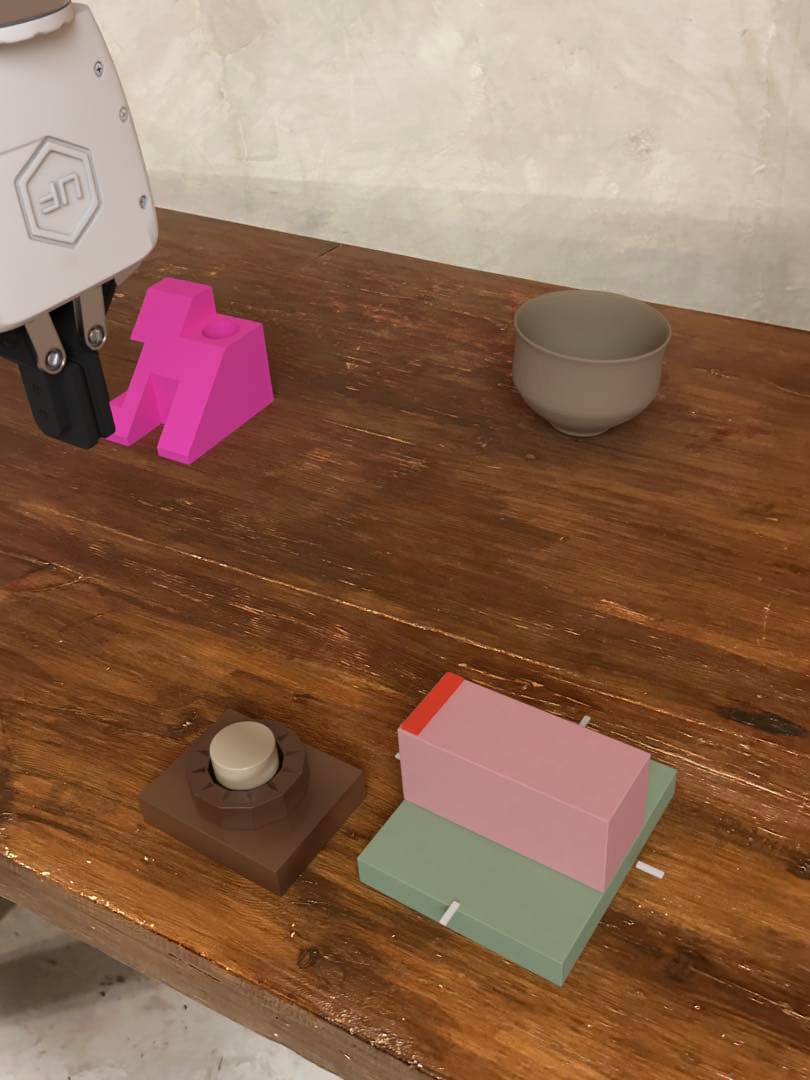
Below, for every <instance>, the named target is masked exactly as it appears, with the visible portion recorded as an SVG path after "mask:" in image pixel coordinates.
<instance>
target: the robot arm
mask: <svg viewBox="0 0 810 1080" xmlns="http://www.w3.org/2000/svg"><path fill="white" fill-rule="evenodd" d="M105 40H106V39H105V38H104V36H103V33H102V31H101V29H100V26H99V24H98V22H97V20H96V18H95V16H94V14H93V11H92V10H91V8H90V6H89V5H88V4H85V3H82V2H73V1H72V0H0V357H1V358H2V359H3V360H5V361H8V362H12V363H14V364H17V366H18V370H19V374H20V376H21V381H22V385H23V387H24V390H25V394H26V397H27V401H28V404H29V407H30V410H31V415H32V416H33V420H34V423H35V424H36V426H37V427H38V429H40V431H41V432H42V434H43V435H45V436H46V437H49V438H50V439H54V440H57V441H60V442H62V443H66V444H68V445H71V446H73V447H77V448H80V449H81V450H85V451H89V450H90V449H92V448H94V447H96V446H97V445H98V444H99V440H100V439H103V438H104V439H103V440H106V439H105V438H107V437H109V436H110V435H112V434H114V433H115V431H116V427H115V423H114V419H113V415H112V411H111V407H110V403H109V402H110V401H111V400H110V399H111V398H110V394H109V391H108V386H107V383H106V378H105V374H104V371H103V366H102V363H101V358H100V354H99V350H101V349H102V348H103V347H104V346H105V345H106V343H107V340H108V327H107V326H108V325H107V319H106V316H107V314H108V311H109V310H110V309H109V308H110V307H111V304H112V301H113V298H114V296H115V293H116V288H120V287H121V286H122V285H123V284H124V283H125V282H126V281H127V280H128V279H130V278H131V277H132V276H133V275H134V274H135V273H137V271H138V270H139V269H140V268H141V266H142V265H143V263H144V260H146V259H147V257H148V256H149V255H150V254H151V253H152V252H153V250H154V249H155V248H156V245H157V244H158V240H159V221H158V216H157V211H156V205H155V200H154V196H153V191H152V188H151V182H150V179H149V175H148V171H147V167H146V162H145V159H144V155H143V151H142V148H141V144H140V141H139V137H138V133H137V130H136V129H137V128H136V126H135V121H134V118H133V116H132V112H131V109H130V106H129V103H128V102H129V101H128V99H127V96H126V93H125V91H124V88H123V85H122V82H121V79H120V76H119V73H118V70H117V67H116V64H115V61H114V59H113V57H112V55H111V52H110V49H109V47H108V45H107V43H106V41H105Z"/></svg>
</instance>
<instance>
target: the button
mask: <svg viewBox="0 0 810 1080" xmlns="http://www.w3.org/2000/svg"><path fill="white" fill-rule="evenodd" d="M210 757H211V761H212V765H213V769H214V773H215V777H216V779H217V780H218V781H219V783H220V784H222V785H223V786H224V787H226V788H228V789H231V790H236V791H247V790H252V789H255V788H258V787H260V786H262V785H264V784H266V783H267V782H268V781H269V780H270V779H272V777H273V776H274V775H275V773H276V771H277V769H278V766H279V757H278V752H277V747H276V741H275V737H274V734H273V733H272V731H271V730H270V729H269V728H268V727H266V726H265V725H263V724H261V723H258V722H252V721H243V722H237V723H234V724H231V725H229V726H227V727H225V728H223V729H222V730H221V731H219V732H218V733H217V734H216V735H215V737H214V738H213V740H212V742H211V744H210Z"/></svg>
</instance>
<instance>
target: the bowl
mask: <svg viewBox="0 0 810 1080" xmlns="http://www.w3.org/2000/svg"><path fill="white" fill-rule="evenodd" d="M513 327H514V331H515V332H514V333H515V337H514V350H513V351H514V352H513V359H512V368H511V376H512V381H513V385H514V386H515V387H514V388H515V389H516V391H517V392H518V394H519V396H520V397H521V398H522V400H523V401H524V402H525V404H526V405H527V406H528V407H529V408H530V409H531V410H532V411H533V412H535V414H536V415H538V416H540V417H541V418H543V419H544V420H546V421H547V422H549V425H551V426H552V427H553V428H554V429H555V430H557V431H558V432H561V433H562V434H565V435H569V436H572V437H581V438H585V437H588V438H589V437H595V436H598V435H601V434H604V433H606V432H607V431H608V430H609V429H612V428H615V427H617V426H619V425H622V424H625V423H627V422H629V421H630V420H633V419H635V417H637V416H638V415H639V414H641V413H642V412H643V411H644V410H645V409H646V408H647V407H648V406H650V405H651V403H652V402H653V401H654V400H655V398H656V396H657V394H658V392H659V389H660V385H661V381H662V373H663V365H664V360H665V354H666V350H667V346H668V345H669V342H670V340H671V338H672V333H673V331H672V326H671V324H670V322H669V320H668V319H667V317H666V316H665V315H664V314H663V313H662V312H660V311H659V310H658V309H656V308H655V307H653V306H652V305H650V304H648V303H646V302H644V301H641V300H639V299H636V298H634V297H631V296H627V295H624V294H621V293H616V292H611V291H604V290H597V289H596V290H595V289H566V290H557V291H551V292H546V293H543V294H539V295H537V296H534V297H532V298H530V299H528V300H527V301H525V302H524V303H522V304H521V305H520V306H519V307H518V308H517V309H516V311H515V313H514V316H513Z"/></svg>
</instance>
